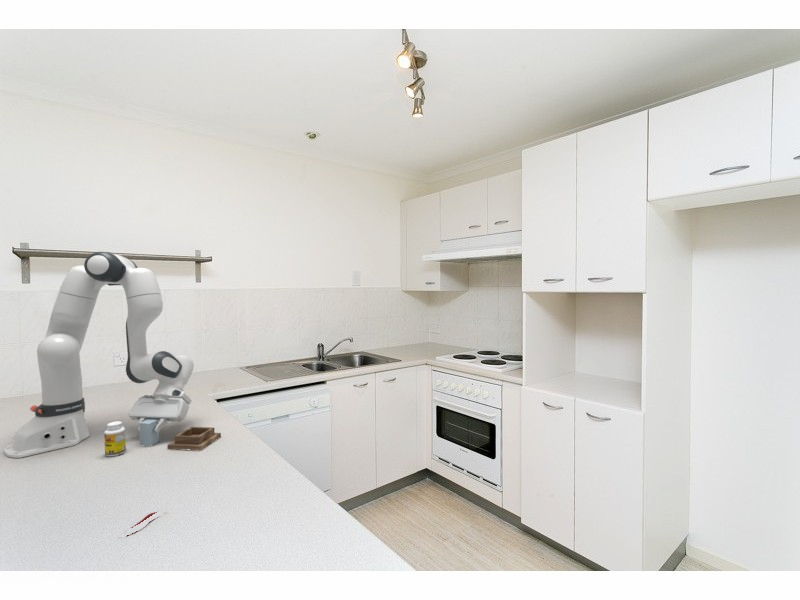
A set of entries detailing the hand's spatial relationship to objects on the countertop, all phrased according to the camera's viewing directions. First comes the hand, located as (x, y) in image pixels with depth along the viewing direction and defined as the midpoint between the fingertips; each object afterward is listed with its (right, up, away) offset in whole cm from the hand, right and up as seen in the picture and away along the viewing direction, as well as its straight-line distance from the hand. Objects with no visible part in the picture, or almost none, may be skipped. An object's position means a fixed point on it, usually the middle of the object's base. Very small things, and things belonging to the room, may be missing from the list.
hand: (147, 431), depth 137 cm
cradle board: (+16, -4, +1) cm, 17 cm away
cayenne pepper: (+28, -7, -45) cm, 54 cm away
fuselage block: (0, -5, +1) cm, 5 cm away
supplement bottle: (-6, -5, -7) cm, 11 cm away
